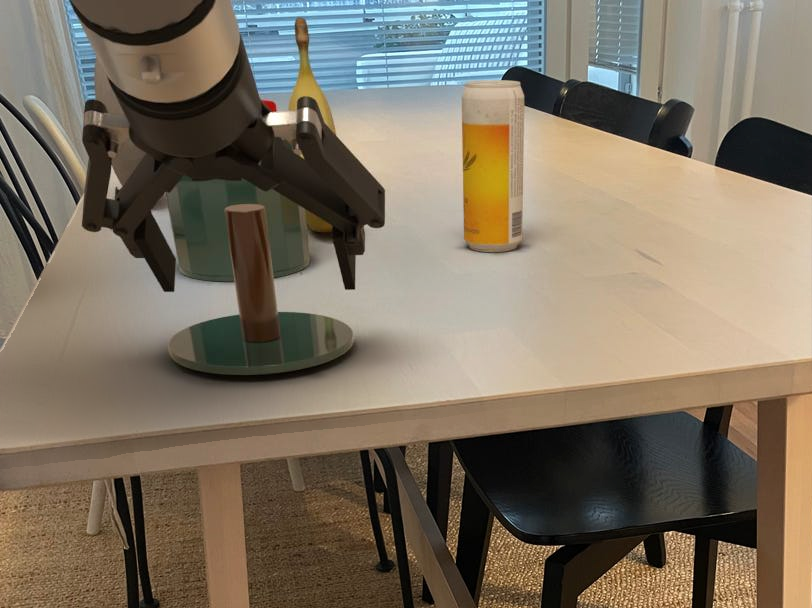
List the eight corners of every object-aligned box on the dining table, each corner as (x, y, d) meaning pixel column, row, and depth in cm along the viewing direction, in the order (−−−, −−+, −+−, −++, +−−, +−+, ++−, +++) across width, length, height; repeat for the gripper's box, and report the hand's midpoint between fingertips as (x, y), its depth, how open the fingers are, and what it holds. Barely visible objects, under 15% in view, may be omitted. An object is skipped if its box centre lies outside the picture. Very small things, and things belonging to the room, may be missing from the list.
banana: (361, 245, 104) (345, 22, 93) (305, 248, 103) (282, 23, 92) (340, 206, 122) (324, 16, 111) (293, 208, 121) (272, 16, 110)
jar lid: (143, 382, 69) (112, 227, 63) (203, 325, 80) (181, 189, 74) (334, 385, 68) (320, 228, 62) (368, 327, 79) (358, 190, 74)
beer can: (479, 238, 106) (478, 79, 98) (531, 243, 104) (534, 80, 96) (454, 250, 102) (450, 84, 93) (507, 255, 99) (508, 86, 91)
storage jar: (160, 280, 92) (135, 145, 86) (202, 250, 103) (182, 127, 96) (292, 282, 91) (277, 145, 85) (321, 251, 102) (309, 126, 95)
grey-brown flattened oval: (181, 214, 119) (151, 32, 108) (120, 219, 117) (84, 33, 106) (165, 189, 133) (137, 26, 123) (110, 193, 131) (77, 27, 120)
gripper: (-69, 115, 51) (90, 322, 72) (405, 109, 51) (427, 318, 72) (-56, -8, 53) (96, 230, 74) (405, -13, 53) (426, 226, 74)
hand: (260, 274), depth 73 cm, fingers open, 13 cm apart
